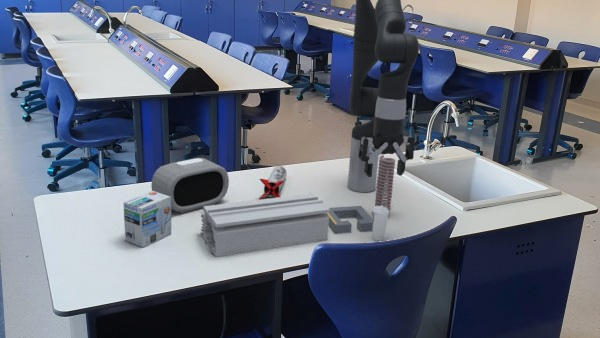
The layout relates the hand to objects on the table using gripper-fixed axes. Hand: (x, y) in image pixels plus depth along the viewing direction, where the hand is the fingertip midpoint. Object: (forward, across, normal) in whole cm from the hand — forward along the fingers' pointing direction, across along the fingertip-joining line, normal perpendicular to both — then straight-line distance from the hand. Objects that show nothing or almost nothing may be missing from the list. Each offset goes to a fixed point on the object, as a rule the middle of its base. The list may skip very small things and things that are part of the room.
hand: (384, 175), depth 157 cm
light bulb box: (+18, +60, -10) cm, 63 cm away
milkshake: (+18, 0, 0) cm, 18 cm away
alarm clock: (+18, +47, -30) cm, 59 cm away
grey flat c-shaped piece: (+18, +5, -11) cm, 22 cm away
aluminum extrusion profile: (+19, +30, -6) cm, 36 cm away
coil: (+18, -7, -15) cm, 25 cm away
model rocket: (+19, +20, -40) cm, 48 cm away
